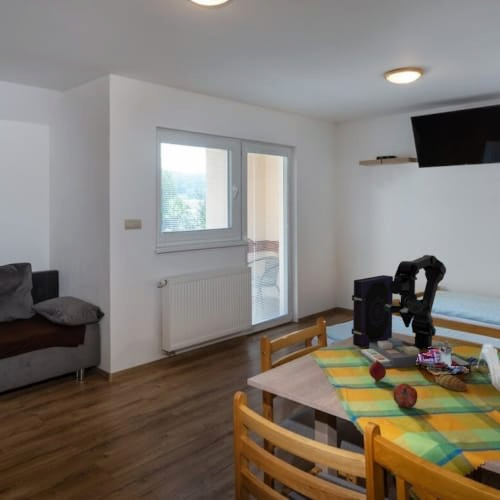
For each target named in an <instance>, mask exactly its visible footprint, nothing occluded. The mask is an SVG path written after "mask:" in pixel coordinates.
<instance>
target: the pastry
mask: <svg viewBox="0 0 500 500" xmlns="http://www.w3.org/2000/svg"><path fill="white" fill-rule="evenodd" d="M437 384H439V386H440V387H444V389H449V390H451V391H458V392H464V391H465V390H467V388H468V385H467V383H465V382H464V381H463V380H461V379H460V378H458V377H457V376H456V375H453V374H452V375H447V374H441V375H439V376H438V379H437Z"/></svg>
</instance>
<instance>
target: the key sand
mask: <svg viewBox="0 0 500 500" xmlns="http://www.w3.org/2000/svg"><path fill="white" fill-rule="evenodd" d="M403 352H404V353H405V354H407V355H418V354H419V353H420V349H419V348H417V347H416V346H414V345H412V346H411V345H410V346H408V347H403Z"/></svg>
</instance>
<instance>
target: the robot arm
mask: <svg viewBox="0 0 500 500" xmlns="http://www.w3.org/2000/svg"><path fill="white" fill-rule="evenodd" d="M422 269H423V270H424V275H425V278H426V283H425V286H424V291H423V295H422V299H418V295H417V293H416V281H417V280H418V278H417V275H418V274H419V273H420V271H421V270H422ZM446 273H447V267H446V265H445V264H444V263H443V262H442V261H441V260H439V259H438V258H437V257H436V256H435V255H432V254H431V255H429V254H425V255H423V256H421V257H417V258H416V259H413V260H402V261H400V262H399V264H398V266H397V267H396V271H395V274H394V276H393V281H392V282H391V283H390V285H389V289H390V291H391V292H392V293H393V295H398V296H400V301H399V302H398V304H395V303H392V304H386V305H385V306H384V310H385V311H387V312H389V313H392V314H398V313H399V315H400V317H401V319H402V322H403V325H404V327H405V328H409V327H411V330H412V332H411V333H412V334H415V336H414V344H413V345H412V346H414V347H415V348H417V347H418V348H417V349H419V348H421V349H420V350H424V349H423V348H428V347H430V346H432V347H433V337H435V335H436V331H437V329H436V328H435V326H434V324H433V323H434V320H433V317H432V311H433V310H432V309H433V306H434V302H435V298H436V293H437V290H438V285H439V283H441V282H442V281H443V280H444V279H445V278H444V277H445V275H446ZM410 324H411V326H410Z"/></svg>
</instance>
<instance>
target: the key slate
mask: <svg viewBox="0 0 500 500" xmlns="http://www.w3.org/2000/svg"><path fill="white" fill-rule="evenodd" d="M387 341H389V342H391V343H392V346H401V345H402V343H403V342H404V341H403V340H402V339H400V338H398V337H391V338H388V339H387Z"/></svg>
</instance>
